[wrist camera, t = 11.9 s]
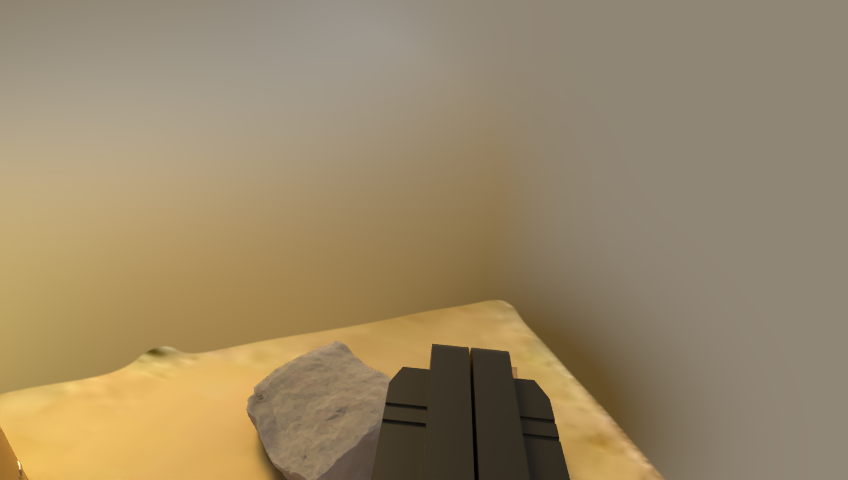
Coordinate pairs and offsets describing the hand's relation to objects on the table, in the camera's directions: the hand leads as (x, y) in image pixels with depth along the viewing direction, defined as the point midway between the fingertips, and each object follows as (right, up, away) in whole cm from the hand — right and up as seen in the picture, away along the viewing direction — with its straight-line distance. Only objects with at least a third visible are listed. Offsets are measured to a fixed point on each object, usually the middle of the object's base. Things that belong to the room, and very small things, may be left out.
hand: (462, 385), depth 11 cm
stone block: (-8, -12, +30) cm, 33 cm away
